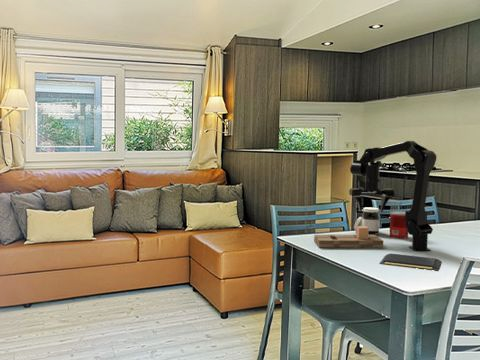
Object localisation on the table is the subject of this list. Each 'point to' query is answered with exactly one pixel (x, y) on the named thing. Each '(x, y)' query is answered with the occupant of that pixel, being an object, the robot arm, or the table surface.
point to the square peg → (362, 232)
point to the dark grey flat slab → (411, 261)
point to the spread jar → (369, 220)
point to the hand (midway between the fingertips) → (371, 211)
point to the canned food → (398, 225)
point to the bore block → (347, 241)
